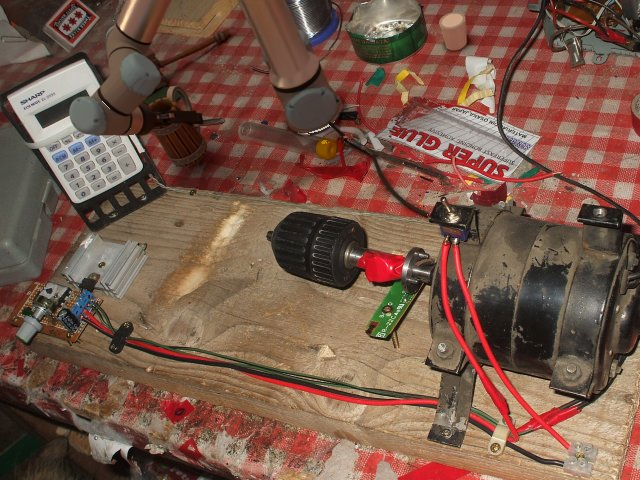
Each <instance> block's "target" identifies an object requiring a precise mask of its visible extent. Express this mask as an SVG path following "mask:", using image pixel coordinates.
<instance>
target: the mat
mask: <svg viewBox="0 0 640 480" xmlns="http://www.w3.org/2000/svg"><path fill="white" fill-rule="evenodd" d="M169 88H170V87H168V86H167V85H165V86H163V87H160V88H158V89H156V90H154V91H153V92H152V94H150V95H149V96H148V97H147V98H146V99H145V100H144V101H143V102H142V103H144V104H146V105H147V106H149V105H150V104H151V103H155V101H156V100H158V99H161V100H163V98H167V91H168V89H169ZM174 98H175V101H176V102H177V101H179V100H180V99H181V97H180V96H179V94H178V93H177V92H175V95H174Z"/></svg>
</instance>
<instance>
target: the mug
mask: <svg viewBox="0 0 640 480" xmlns="http://www.w3.org/2000/svg"><path fill="white" fill-rule="evenodd" d="M168 88H169V89H168V91H167V98H163V100H161V99H158V100H156V101H155V103H151V104H150V105H148V107H149V108H150V109H151V110H157V111H161V110H165V111H166V110H169V109H170V110H177V111H194V110H193V106H192V103H191V101H190V98H189V96H188V94H187V92H186V91H185V89H184V88H182V87H181V86H180V85H172V86H169V87H168ZM175 92H177V93H178V94H179V96H180V97H181V98H180V99H181V101H182V103H183V106H184V110H183V109H182V105H181V104H178V103H177V101H175V98H174V95H175ZM162 123H163V121H162ZM150 132H152V134H153V135H154V136H155V138H156V139H157V141H158V142H159V144H160V145H161V147H162V149H163V150H164V151H165V155H166V157H167V158H168V160H169V161H170V162H171V163H172V165H174V166H176V167H179V168H185V167H190V166H193V165H195V164H197V163H199V162H200V161H202V159H203V158H204V157H205V155H206V153H207V152H208V147H209V146H208V142H207V140H206V138H205V137H204V136H203V134H202V133H201V125H200V124H193V126H190V125H189V124H188V123H171V124H169V125H166V126H159V127H153V128H152V130H151V131H150Z"/></svg>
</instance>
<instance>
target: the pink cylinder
mask: <svg viewBox="0 0 640 480" xmlns="http://www.w3.org/2000/svg"><path fill="white" fill-rule="evenodd" d="M438 24H439V28H440V32H441V34H442V37H443V41H444V44H445V47H446V49H448V50H449V51H458V50H461V49H463V48H464V47H465V46H466V45H467V43H468V39H467V38H468V37H467V22H466V16H465V14H464V13H463V12H458V11H452V12H449V13H446V14H445V15H443V16H442V17H441V18H440V19H439V21H438Z"/></svg>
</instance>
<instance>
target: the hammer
mask: <svg viewBox="0 0 640 480" xmlns="http://www.w3.org/2000/svg"><path fill="white" fill-rule="evenodd" d="M230 36H231V32H230V30H229V28H226V29H224V30H223V31H222V30H219V31H217V32H216V33H215V34H213V36H211V37H210V38H209V39H207V40H204V41H202V42H201V43H198V44H197V45H195V46H193V47H190V48H189V49H186V50H184V51H182V52H180V53H178V54H176V55H173V56H171V57H170V58H167V59H165V60H161V59H160V60H159V58H158V57H156V53H155V51H153V49H151V48H149V50H148V52H147V54H146V58H148V59H149V60H150V61H151V62H152V63H153V64H154V65H155V66H156V67H157V70H158V71H159V72H160V75H161V81H160V83H159V84H158V85H157V87H156V88H155V89H154V90H156V89H158V88H160V87H163V86H167V82H166V80H167V76H166V75H165V74H164V73H163V72H162V71H161V69H165V67H166V66H169V65H170V64H173V63H176V62H178V61H179V60H183V59H185V58H187V57H189V56H191V55H193V54H195V53H198V52H200V51H201V50H204V49H206V48H208V47H210V46H212V45H214V44H217V43H220V42H225V41H226V38H228V37H230Z"/></svg>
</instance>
